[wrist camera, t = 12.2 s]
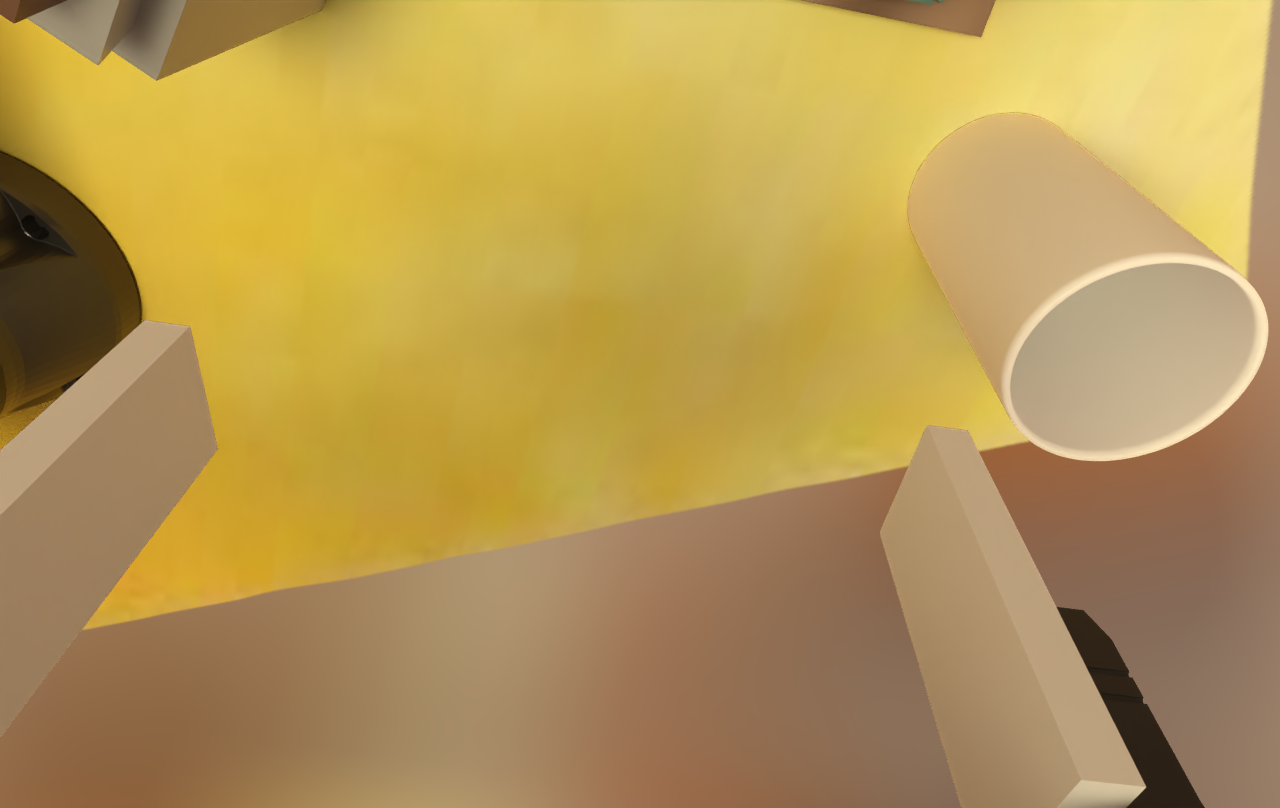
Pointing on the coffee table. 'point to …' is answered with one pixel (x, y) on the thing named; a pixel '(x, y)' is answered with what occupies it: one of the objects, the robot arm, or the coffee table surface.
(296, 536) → the coffee table surface
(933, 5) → the board
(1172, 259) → the cup
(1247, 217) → the coffee table surface
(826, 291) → the coffee table surface
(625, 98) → the coffee table surface
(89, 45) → the perfume bottle
